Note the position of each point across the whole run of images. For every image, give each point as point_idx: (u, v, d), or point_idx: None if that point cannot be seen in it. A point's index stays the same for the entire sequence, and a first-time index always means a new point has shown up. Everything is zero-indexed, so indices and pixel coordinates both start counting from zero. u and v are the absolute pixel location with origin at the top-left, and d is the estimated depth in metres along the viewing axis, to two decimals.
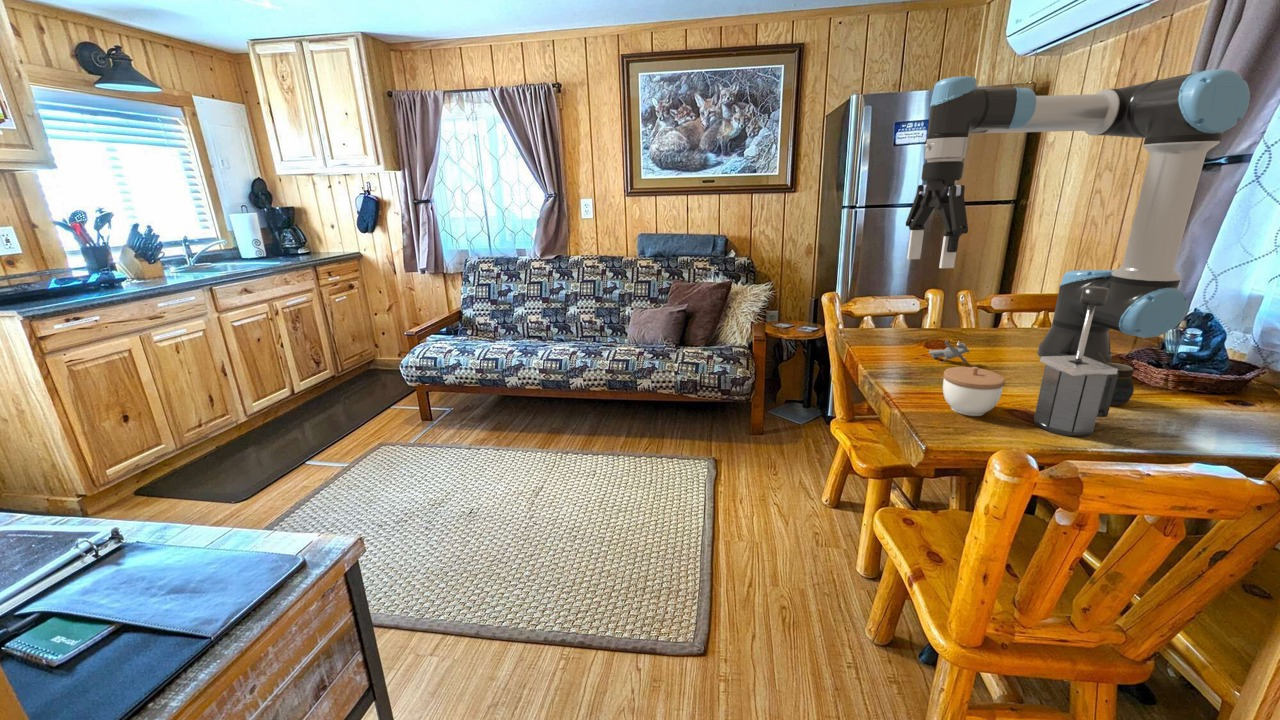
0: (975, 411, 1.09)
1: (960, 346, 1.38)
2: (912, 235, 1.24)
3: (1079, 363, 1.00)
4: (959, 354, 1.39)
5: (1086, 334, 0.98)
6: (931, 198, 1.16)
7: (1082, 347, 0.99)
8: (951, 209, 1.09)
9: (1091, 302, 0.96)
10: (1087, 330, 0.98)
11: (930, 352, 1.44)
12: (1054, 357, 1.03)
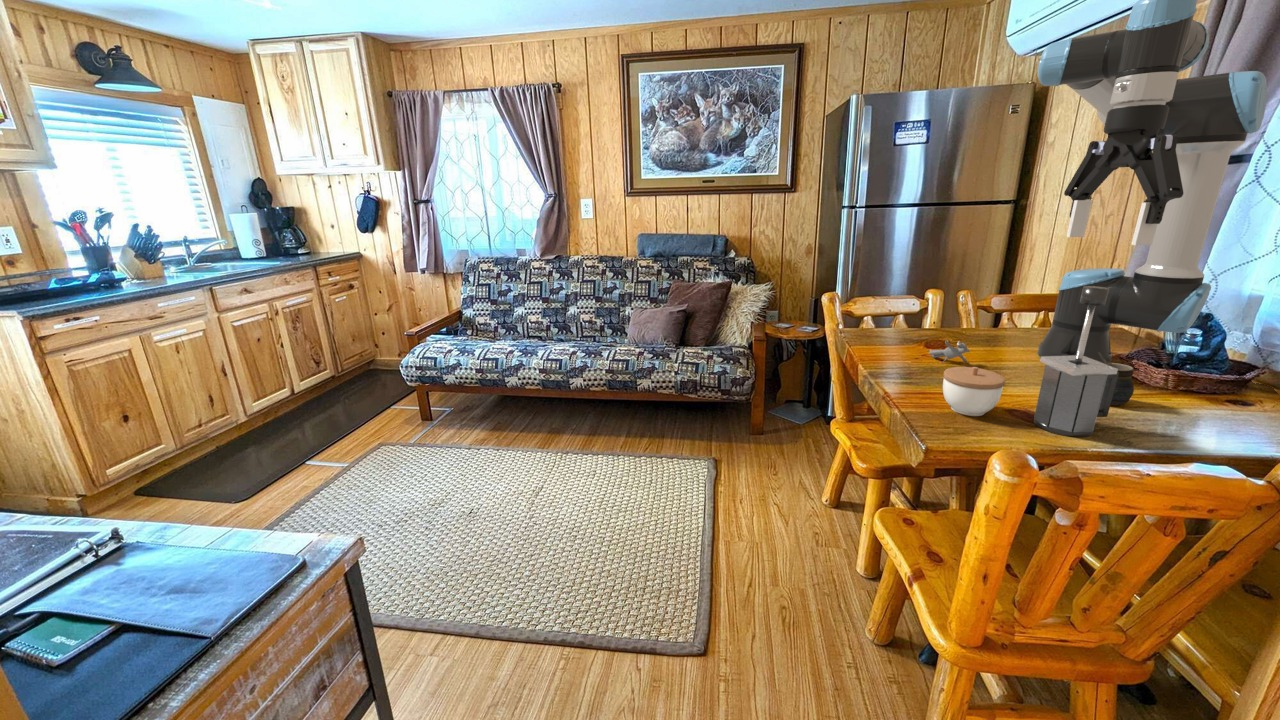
0: (975, 411, 1.09)
1: (960, 346, 1.38)
2: (1077, 206, 0.98)
3: (1079, 363, 1.00)
4: (959, 354, 1.39)
5: (1086, 334, 0.98)
6: (1116, 156, 0.90)
7: (1082, 347, 0.99)
8: (1158, 166, 0.83)
9: (1091, 302, 0.96)
10: (1087, 330, 0.98)
11: (930, 352, 1.44)
12: (1054, 357, 1.03)
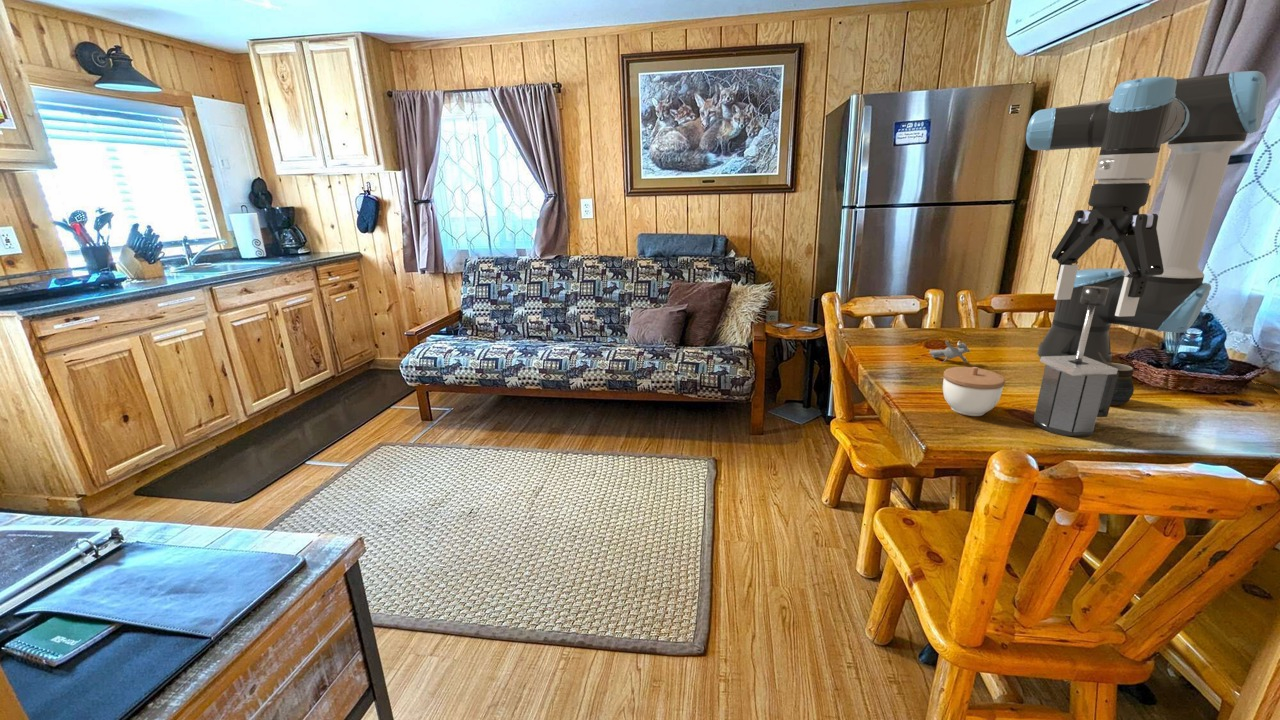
0: (975, 411, 1.09)
1: (961, 346, 1.38)
2: (1063, 271, 1.01)
3: (1079, 363, 1.00)
4: (959, 354, 1.39)
5: (1086, 334, 0.98)
6: (1100, 228, 0.93)
7: (1082, 347, 0.99)
8: (1139, 244, 0.86)
9: (1091, 302, 0.96)
10: (1087, 330, 0.98)
11: (930, 352, 1.44)
12: (1054, 357, 1.03)
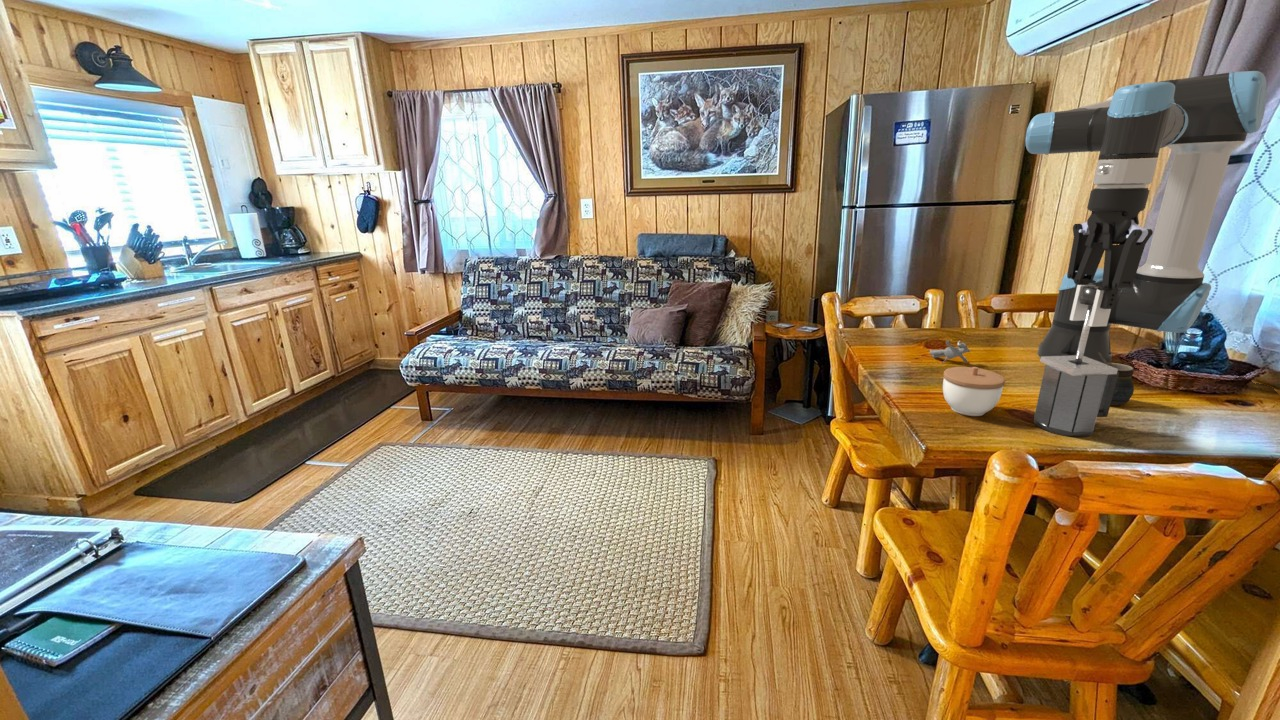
0: (975, 411, 1.09)
1: (961, 346, 1.38)
2: (1080, 291, 0.98)
3: (1079, 363, 1.00)
4: (960, 354, 1.39)
5: (1086, 334, 0.98)
6: (1099, 232, 0.94)
7: (1082, 347, 0.99)
8: (1122, 258, 0.89)
9: (1091, 302, 0.96)
10: (1087, 330, 0.98)
11: (930, 352, 1.44)
12: (1054, 357, 1.03)
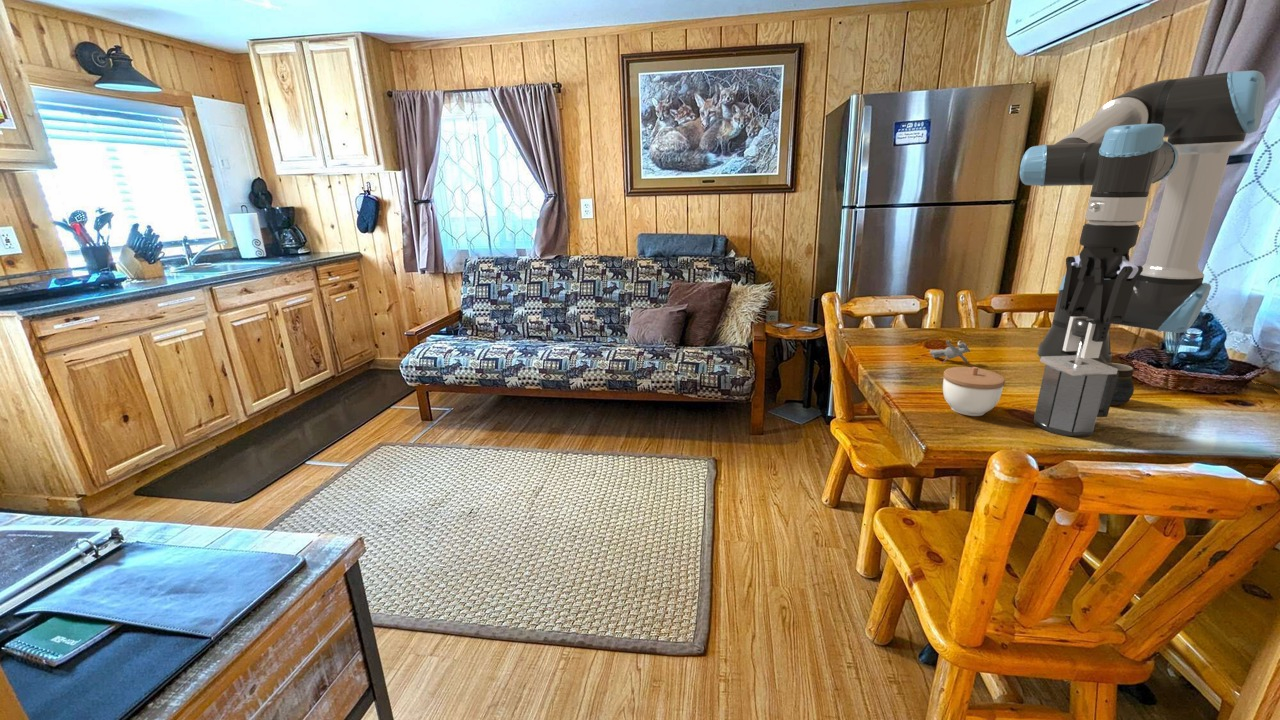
0: (975, 411, 1.09)
1: (961, 346, 1.38)
2: (1072, 323, 1.00)
3: None
4: (960, 354, 1.39)
5: None
6: (1091, 266, 0.96)
7: None
8: (1114, 293, 0.91)
9: (1083, 334, 0.97)
10: (1079, 361, 1.00)
11: (931, 352, 1.44)
12: (1054, 357, 1.03)
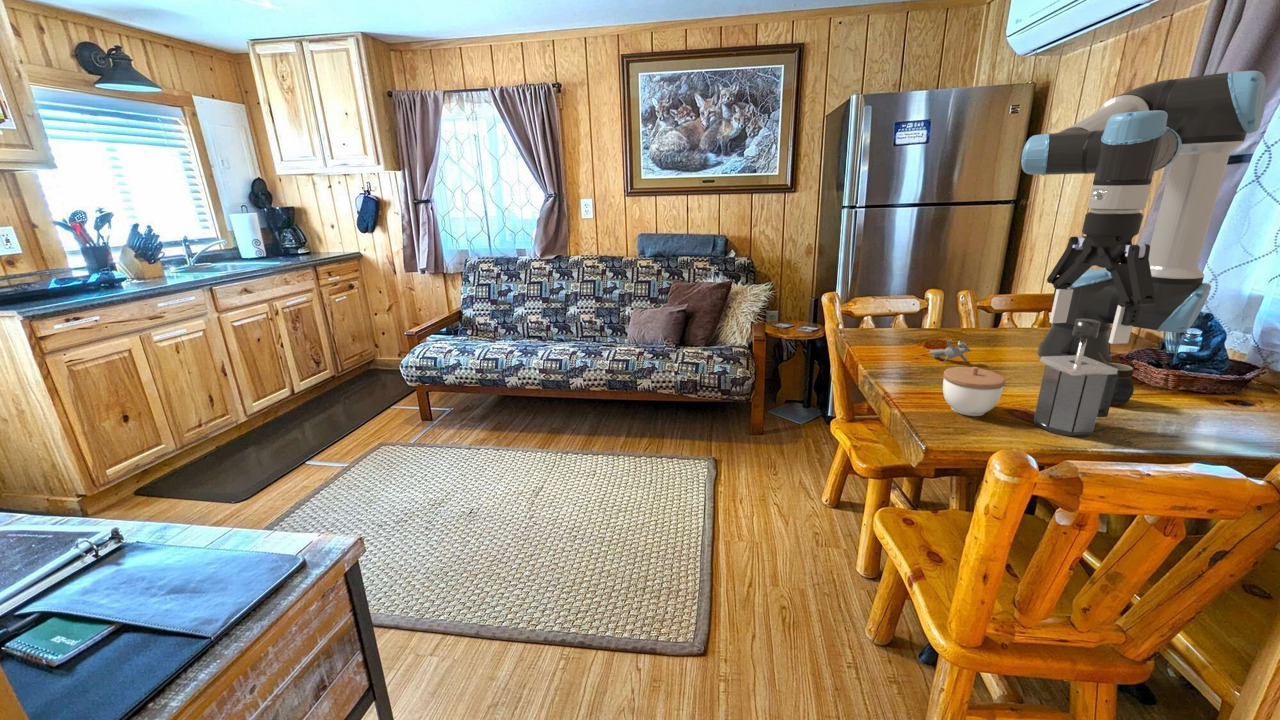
0: (975, 411, 1.09)
1: (961, 345, 1.38)
2: (1059, 295, 1.03)
3: None
4: (960, 353, 1.39)
5: None
6: (1094, 255, 0.95)
7: None
8: (1132, 274, 0.88)
9: (1083, 335, 0.97)
10: (1079, 362, 1.00)
11: (931, 352, 1.44)
12: (1054, 357, 1.03)
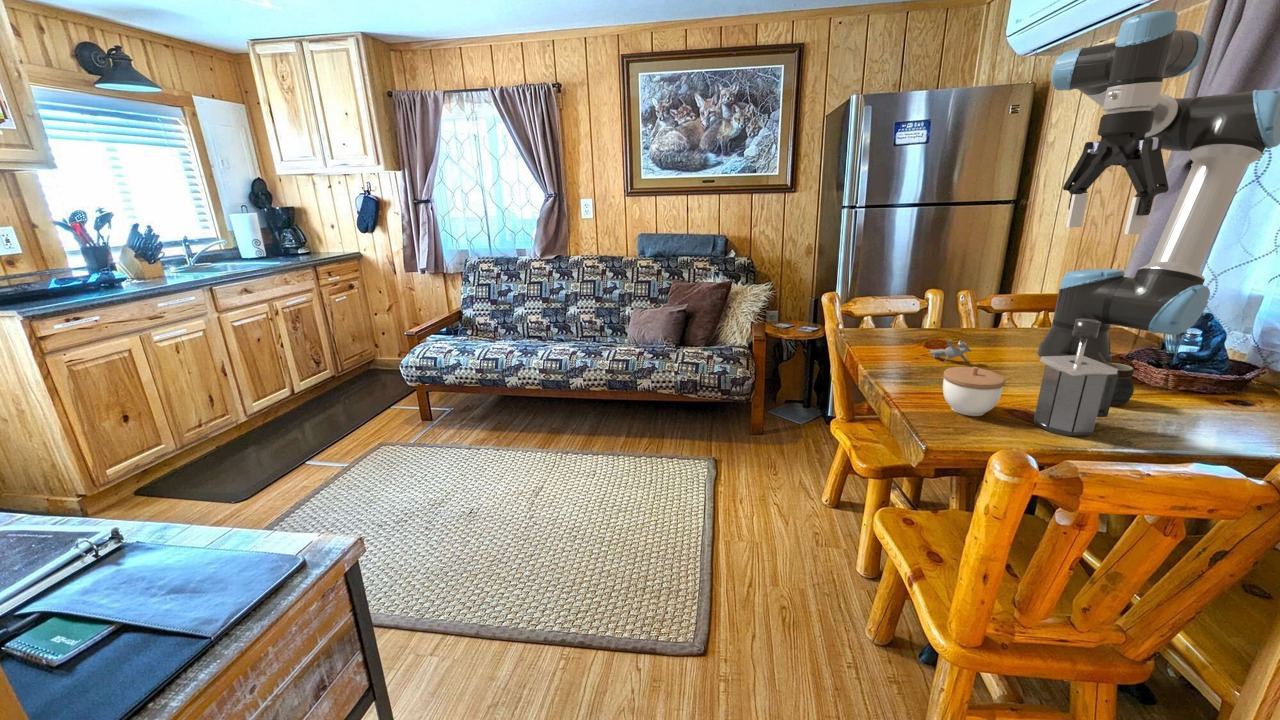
0: (975, 411, 1.09)
1: (962, 345, 1.38)
2: (1075, 200, 1.10)
3: None
4: (961, 353, 1.39)
5: None
6: (1109, 155, 1.02)
7: None
8: (1146, 165, 0.95)
9: (1083, 335, 0.97)
10: (1079, 362, 1.00)
11: (931, 352, 1.44)
12: (1054, 357, 1.03)
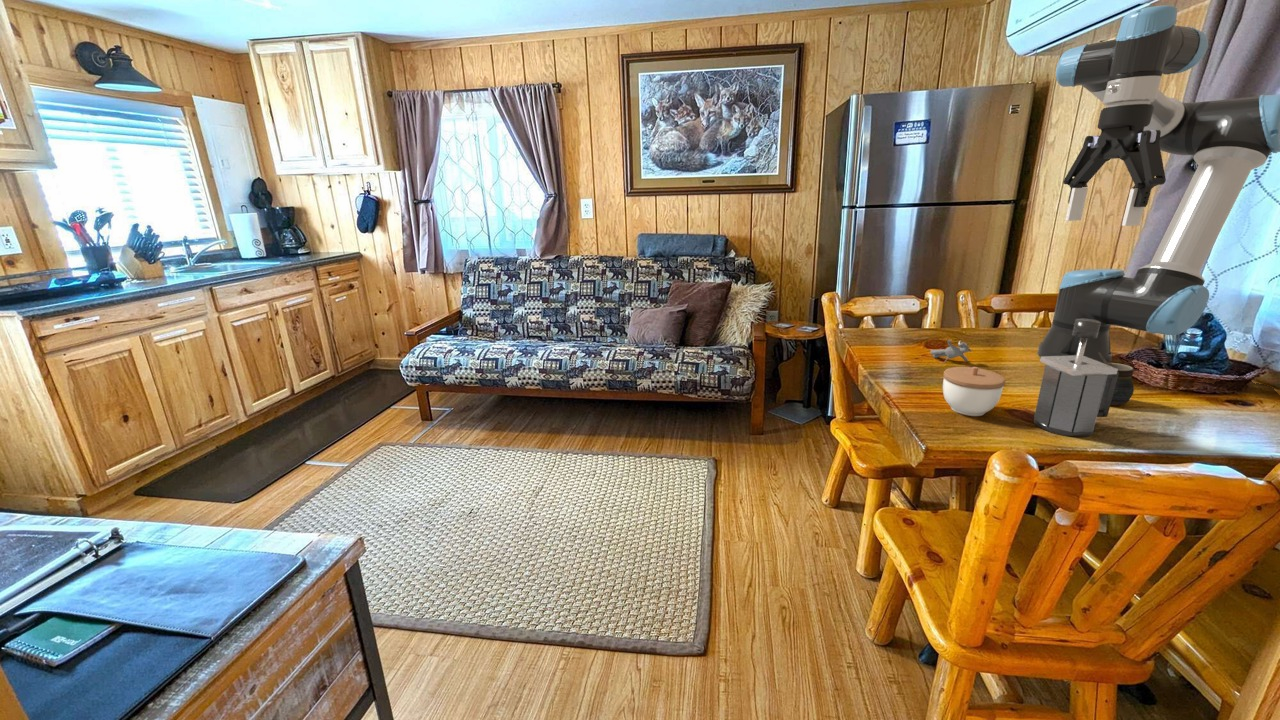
0: (975, 411, 1.09)
1: (962, 345, 1.38)
2: (1074, 193, 1.12)
3: None
4: (961, 353, 1.39)
5: None
6: (1108, 148, 1.04)
7: None
8: (1144, 157, 0.97)
9: (1083, 335, 0.97)
10: (1079, 362, 1.00)
11: (931, 352, 1.44)
12: (1054, 357, 1.03)
